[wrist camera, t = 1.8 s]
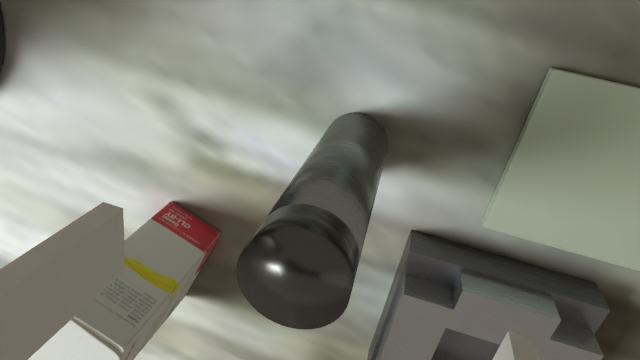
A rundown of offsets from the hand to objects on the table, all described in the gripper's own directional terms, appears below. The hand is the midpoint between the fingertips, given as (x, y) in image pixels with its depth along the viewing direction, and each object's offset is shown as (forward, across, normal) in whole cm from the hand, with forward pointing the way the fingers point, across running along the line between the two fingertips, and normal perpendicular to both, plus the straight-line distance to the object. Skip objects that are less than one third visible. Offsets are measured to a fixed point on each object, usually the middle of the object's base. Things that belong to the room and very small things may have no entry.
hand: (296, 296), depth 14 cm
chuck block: (+14, +10, -11) cm, 21 cm away
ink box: (+14, -12, -13) cm, 23 cm away
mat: (+14, +14, +2) cm, 20 cm away
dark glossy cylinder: (+14, 0, 0) cm, 14 cm away
